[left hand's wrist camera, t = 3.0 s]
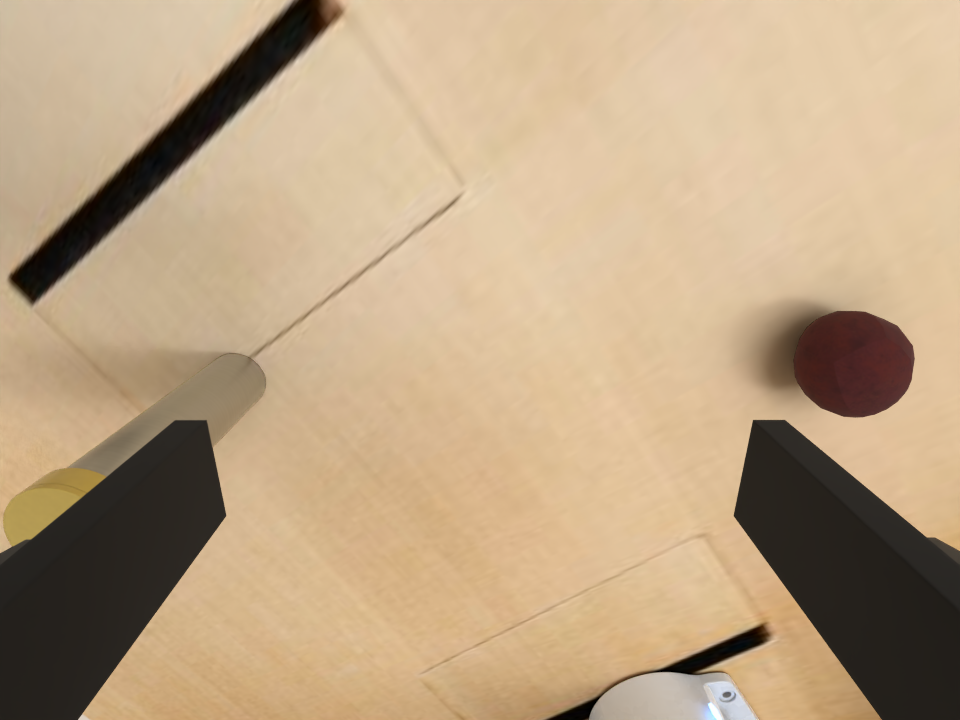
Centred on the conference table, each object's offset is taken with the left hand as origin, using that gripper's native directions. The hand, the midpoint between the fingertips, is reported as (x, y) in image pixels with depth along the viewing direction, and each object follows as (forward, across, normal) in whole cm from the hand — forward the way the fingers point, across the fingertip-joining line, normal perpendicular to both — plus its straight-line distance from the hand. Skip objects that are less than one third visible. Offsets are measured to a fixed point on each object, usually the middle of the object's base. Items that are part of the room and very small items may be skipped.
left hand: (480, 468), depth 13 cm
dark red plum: (+28, +27, -6) cm, 39 cm away
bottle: (+28, -20, -9) cm, 35 cm away
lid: (+9, -20, -9) cm, 24 cm away
